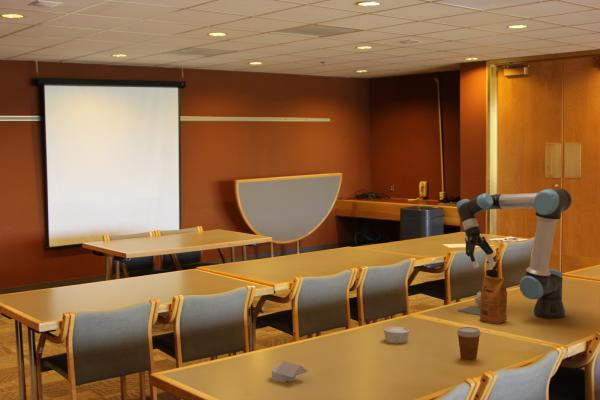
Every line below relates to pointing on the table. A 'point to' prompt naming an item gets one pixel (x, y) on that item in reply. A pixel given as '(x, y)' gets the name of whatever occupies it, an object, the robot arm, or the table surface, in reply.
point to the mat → (471, 310)
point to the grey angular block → (287, 372)
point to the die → (478, 298)
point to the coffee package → (493, 300)
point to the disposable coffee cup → (468, 342)
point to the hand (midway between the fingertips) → (484, 267)
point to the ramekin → (396, 334)
